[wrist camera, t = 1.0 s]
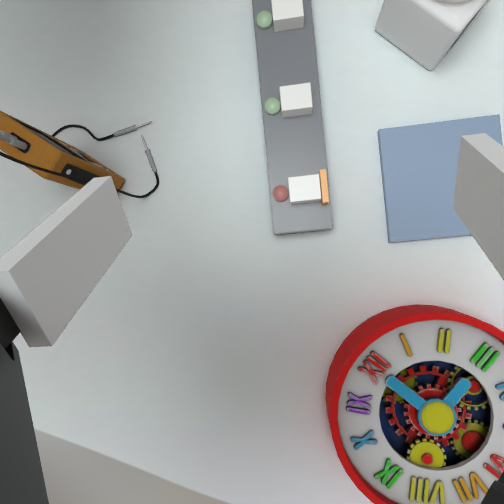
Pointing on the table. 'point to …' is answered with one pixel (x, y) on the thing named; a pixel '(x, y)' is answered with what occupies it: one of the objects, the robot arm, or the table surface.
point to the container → (427, 26)
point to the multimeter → (58, 154)
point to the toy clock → (419, 406)
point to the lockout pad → (426, 176)
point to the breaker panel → (292, 116)
